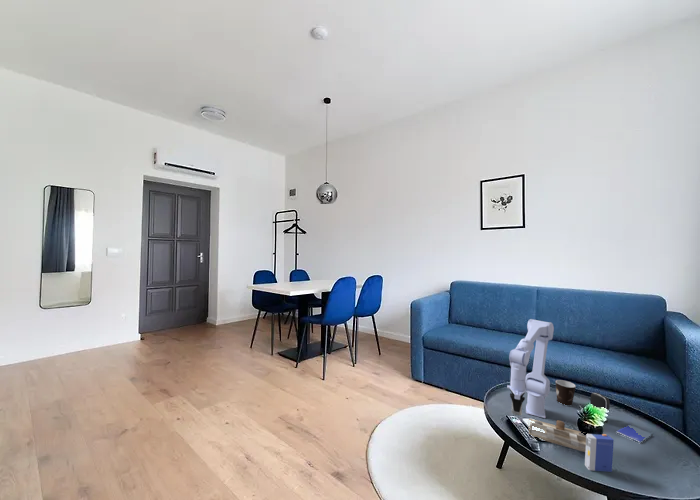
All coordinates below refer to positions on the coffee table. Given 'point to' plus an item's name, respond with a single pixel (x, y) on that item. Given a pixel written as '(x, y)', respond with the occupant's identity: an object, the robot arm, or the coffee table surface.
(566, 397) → the coffee mug
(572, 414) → the coffee table surface
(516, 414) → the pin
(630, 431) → the blue spiral notebook
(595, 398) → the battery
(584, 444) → the board
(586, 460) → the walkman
